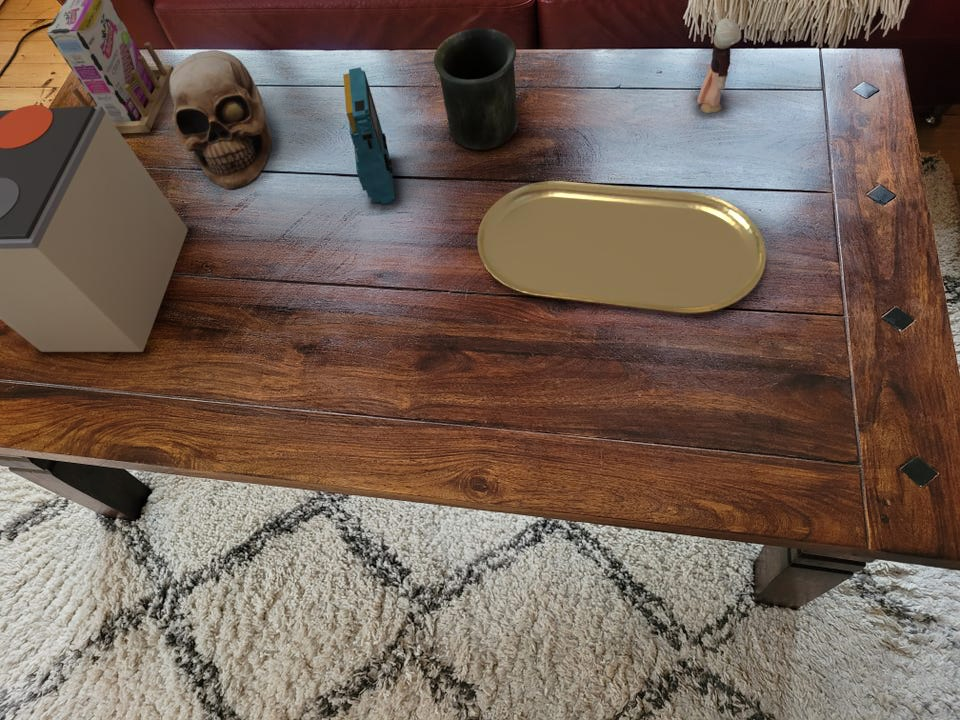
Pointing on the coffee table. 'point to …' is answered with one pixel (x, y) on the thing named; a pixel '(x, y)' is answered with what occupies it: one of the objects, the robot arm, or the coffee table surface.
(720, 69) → the grandmother figurine
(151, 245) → the stove
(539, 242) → the serving platter
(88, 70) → the candy bar box
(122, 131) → the rack
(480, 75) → the mug
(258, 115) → the tan skull
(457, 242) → the coffee table surface
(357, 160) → the handheld gaming console
